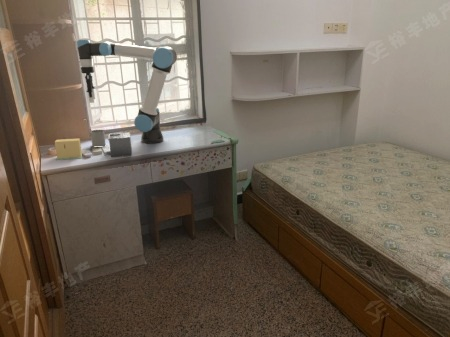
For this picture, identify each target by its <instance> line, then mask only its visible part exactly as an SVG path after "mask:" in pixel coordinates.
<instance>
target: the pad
mask: <svg viewBox="0 0 450 337" xmlns="http://www.w3.org/2000/svg"><path fill="white" fill-rule="evenodd" d="M82 158H83V156H82V155H81V157H70V158H57V157H56V159H55V161H63V160H76V159H82Z"/></svg>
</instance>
